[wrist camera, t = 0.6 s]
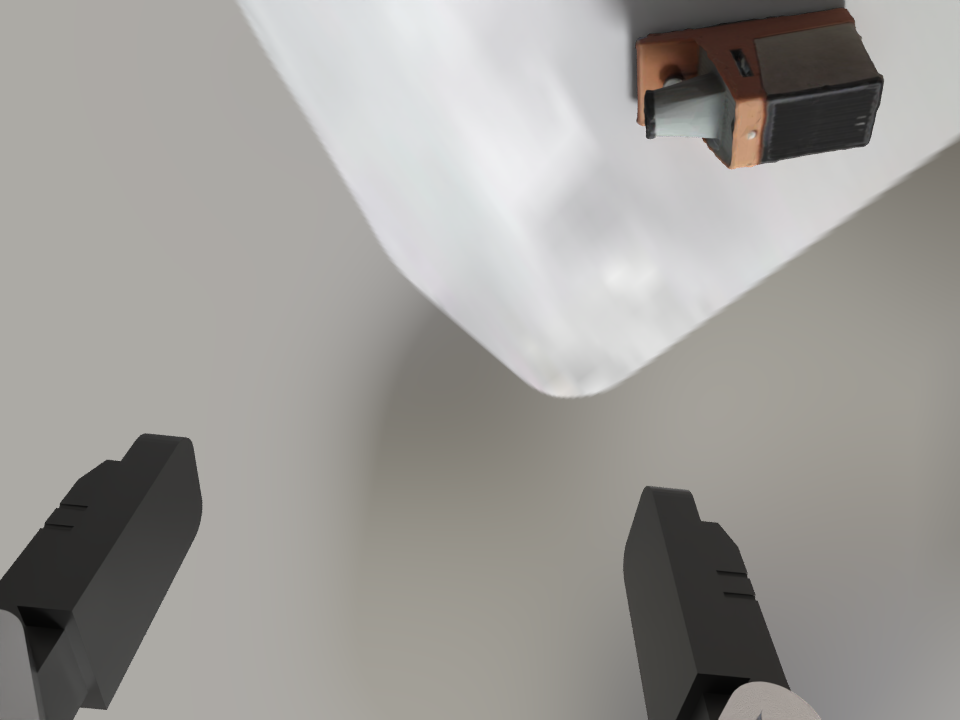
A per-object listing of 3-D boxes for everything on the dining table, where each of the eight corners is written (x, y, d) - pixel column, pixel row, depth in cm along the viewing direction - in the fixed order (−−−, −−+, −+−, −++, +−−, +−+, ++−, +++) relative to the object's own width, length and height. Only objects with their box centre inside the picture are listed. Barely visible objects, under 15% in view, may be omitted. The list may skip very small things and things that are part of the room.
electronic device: (634, 30, 33) (640, 96, 28) (850, 0, 31) (901, 64, 26) (636, 117, 36) (642, 191, 31) (833, 94, 34) (876, 170, 29)
